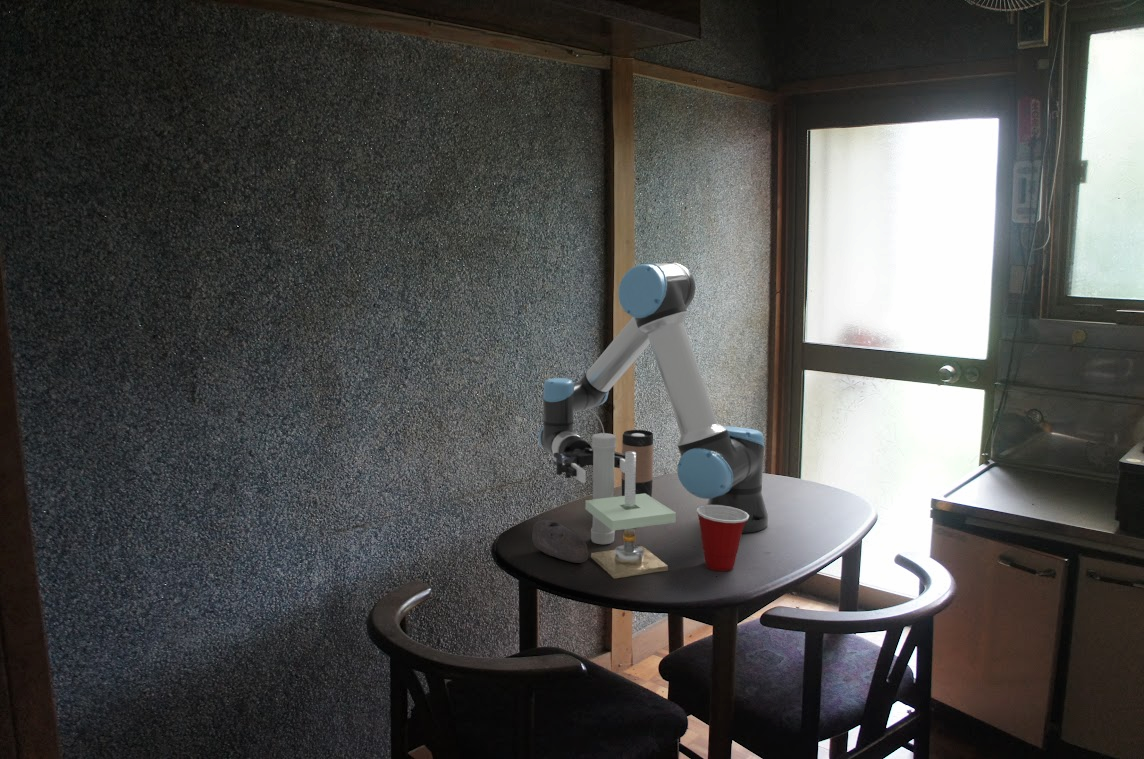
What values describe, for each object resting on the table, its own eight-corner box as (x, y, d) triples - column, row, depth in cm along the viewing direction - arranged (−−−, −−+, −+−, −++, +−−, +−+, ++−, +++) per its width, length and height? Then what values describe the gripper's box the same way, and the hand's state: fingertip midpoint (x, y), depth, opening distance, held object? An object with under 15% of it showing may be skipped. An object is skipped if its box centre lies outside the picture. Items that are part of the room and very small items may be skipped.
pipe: (613, 546, 189) (614, 413, 184) (585, 543, 190) (586, 411, 185) (616, 537, 194) (618, 408, 189) (589, 535, 195) (590, 406, 190)
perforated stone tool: (595, 564, 178) (596, 532, 177) (577, 571, 175) (578, 539, 173) (547, 545, 189) (547, 515, 188) (529, 551, 185) (529, 520, 184)
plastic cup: (756, 573, 174) (759, 516, 172) (708, 578, 171) (710, 521, 169) (732, 554, 184) (734, 500, 182) (686, 559, 181) (687, 504, 179)
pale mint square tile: (585, 509, 181) (585, 500, 180) (645, 502, 186) (645, 493, 185) (612, 530, 168) (612, 521, 168) (675, 522, 173) (675, 512, 173)
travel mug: (658, 513, 211) (660, 434, 207) (633, 518, 207) (635, 438, 203) (638, 505, 217) (640, 428, 214) (614, 510, 213) (615, 432, 209)
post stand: (591, 557, 182) (592, 448, 178) (642, 550, 186) (644, 443, 182) (614, 578, 171) (616, 462, 167) (667, 570, 175) (670, 456, 171)
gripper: (616, 461, 210) (657, 485, 190) (526, 470, 202) (558, 496, 182) (617, 431, 209) (657, 452, 189) (525, 439, 201) (558, 462, 181)
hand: (609, 474), depth 185 cm, fingers open, 11 cm apart
